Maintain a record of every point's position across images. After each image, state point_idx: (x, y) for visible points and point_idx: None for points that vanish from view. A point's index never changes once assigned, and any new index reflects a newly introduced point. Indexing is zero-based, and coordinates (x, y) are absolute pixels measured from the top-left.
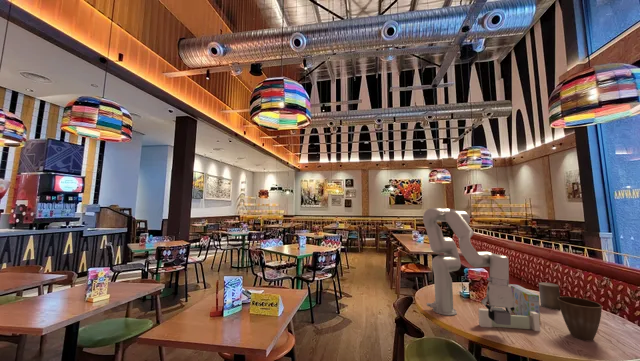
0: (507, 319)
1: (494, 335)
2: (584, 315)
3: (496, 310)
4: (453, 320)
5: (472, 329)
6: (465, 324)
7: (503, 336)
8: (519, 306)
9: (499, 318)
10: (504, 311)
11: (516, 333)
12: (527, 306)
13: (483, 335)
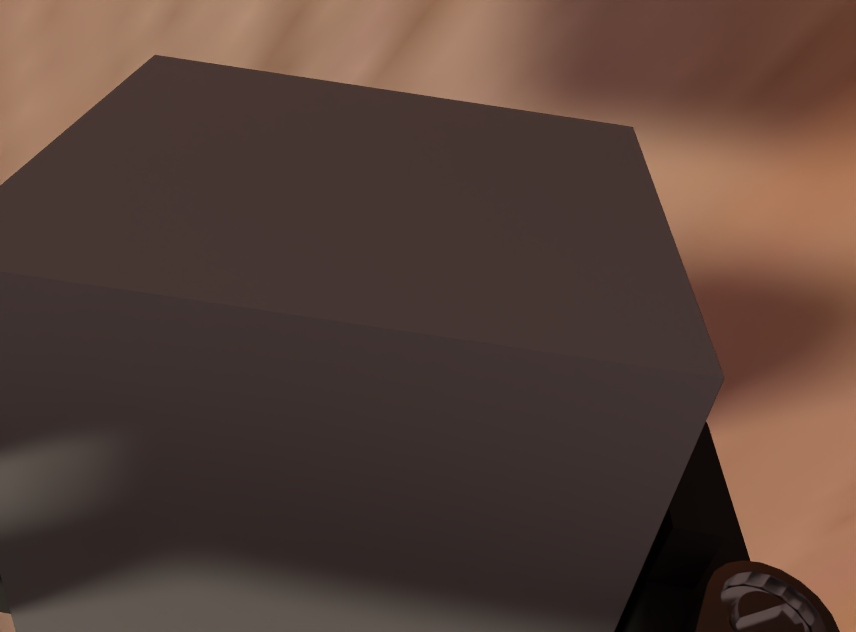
0: (207, 148)
1: (574, 98)
2: None
3: (464, 600)
4: (839, 608)
5: (821, 350)
6: (765, 504)
7: (393, 47)
8: None
9: (552, 209)
10: (113, 517)
11: (6, 178)
12: None
13: (845, 103)
